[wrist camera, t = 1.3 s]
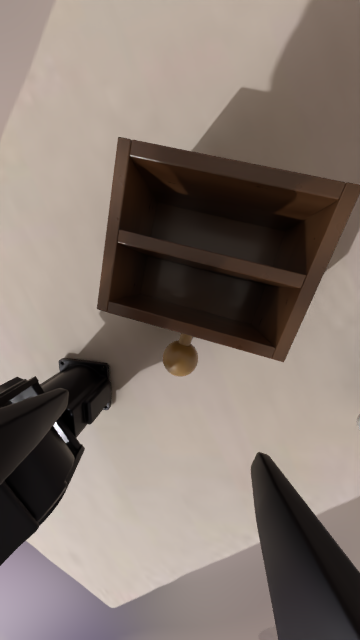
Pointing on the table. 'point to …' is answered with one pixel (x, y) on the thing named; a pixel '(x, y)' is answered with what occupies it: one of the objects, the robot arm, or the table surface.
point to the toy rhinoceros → (358, 422)
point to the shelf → (217, 248)
